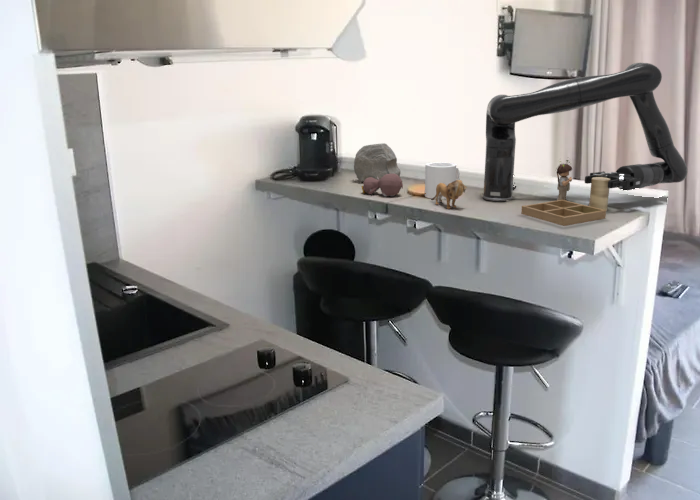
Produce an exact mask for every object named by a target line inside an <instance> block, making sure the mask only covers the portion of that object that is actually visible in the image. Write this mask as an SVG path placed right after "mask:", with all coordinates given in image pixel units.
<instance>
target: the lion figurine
mask: <svg viewBox="0 0 700 500" xmlns="http://www.w3.org/2000/svg"><path fill="white" fill-rule="evenodd" d="M467 190H468V187H467V186H466V185H465V184H464V182H463V180H462V179H460V180H456V181H454V182H452V183H449V184H448V186H446V185H445V184H444V183H440V184H438V185H437V188H436V195H435V197H434V198H432V199H431V198H430V200H431V201H434V200H435V202H434V203H435V205H436V206H437V205H440V203H443V199H441V198H442V196H444V197H445V198H446V199H445V200H446V209H447V210H450V209H451V208H454V209H455V208H457V204H455V203H456V201H457V200H458V199H459V197H461V196H462V195H463V193H465V194H466V191H467ZM440 192H441V194H440ZM439 194H440V195H439ZM438 197H439V199H438ZM435 198H436V199H435ZM450 203H451V204H450Z"/></svg>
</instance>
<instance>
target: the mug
mask: <svg viewBox="0 0 700 500" xmlns="http://www.w3.org/2000/svg"><path fill="white" fill-rule="evenodd" d="M424 166H425V167H424V168H425V169H424V197H425V198H427V199H430V200H431V199H432V198H434V197H435V195H436V188H437V185H438V184H440V183H444V184H445V185H446V186H448V184H449V183H452V182H454V181H456V180H461V178H460V177H461V175H460V174H461V173H460V170H459V168H458V167H457V164H456V163H453V162H445V161H444V162H443V161H436V162H435V161H433V162H428V163H427V162H426V163H425V165H424ZM425 193H426V194H425ZM440 194H441V192H440ZM440 194H439V195H440ZM438 199H439V197H438ZM434 200H436V198H435V199H434ZM441 200H447V199H446V198H445V197H444V196H442V198H441Z"/></svg>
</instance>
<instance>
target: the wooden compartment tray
mask: <svg viewBox="0 0 700 500" xmlns="http://www.w3.org/2000/svg"><path fill="white" fill-rule="evenodd" d="M520 214H521V215H524V216H527V217H531V218H535V219H538V220H541V221H545V222H548V223H552V224H554V225H555V224H556V225H559V226H562V227H566V226H573V225H577V224H583V223H587V222H593V221H599V220H604V219H606V217H607V211H606V210H603V209H599V208H595V207H590V206H589V205H586V204H581V203H578V202H573V201H569V200H567V199H566V200H557V199H556V200H551V201H545V202H539V203H532V204H526V205H521V212H520Z"/></svg>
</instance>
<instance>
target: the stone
mask: <svg viewBox="0 0 700 500" xmlns="http://www.w3.org/2000/svg"><path fill="white" fill-rule="evenodd" d="M353 171H354V174H355V176H356V179H357V180H359V181H360V182H364V180H365V179H366V178H369V177H372V178H375V179H376V180H377V177H379V179H381V178H382V177H383V176H384V175H386V174H391V173H393V174H397V175H398V176H399V177H400V178H401V173H402V172H401V168H399V166H398V158H397V156H396V154H395V152H394V150H393V149H392V148H391V147H390V146H389V145H388V144H387V143H385V142H384V143H383V142H382V143H373V144H367V145H362V147H361V148H359V150H357V152H356V154H355V157H354V160H353Z"/></svg>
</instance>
